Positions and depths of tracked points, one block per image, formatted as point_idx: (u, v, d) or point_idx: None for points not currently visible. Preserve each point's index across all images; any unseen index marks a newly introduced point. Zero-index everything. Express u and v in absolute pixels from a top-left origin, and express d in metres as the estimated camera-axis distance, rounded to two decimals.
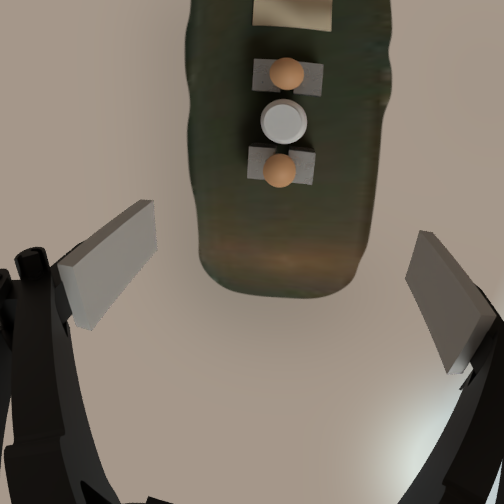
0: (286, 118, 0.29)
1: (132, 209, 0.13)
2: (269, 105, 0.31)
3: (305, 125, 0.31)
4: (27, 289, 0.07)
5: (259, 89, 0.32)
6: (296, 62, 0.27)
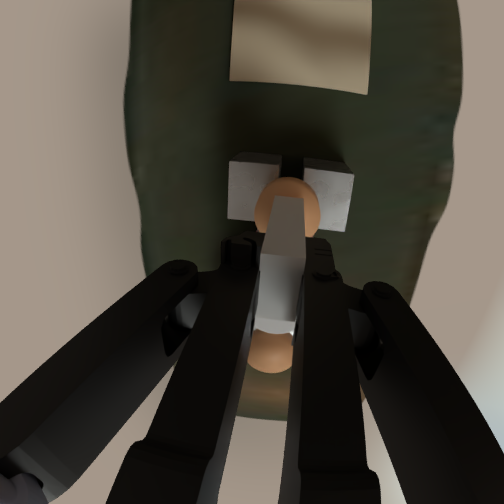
0: None
1: (279, 204, 0.14)
2: None
3: None
4: (226, 277, 0.09)
5: (239, 217, 0.21)
6: (307, 194, 0.16)
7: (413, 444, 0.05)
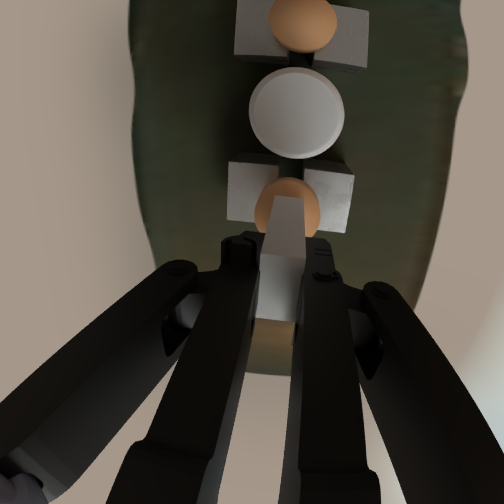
0: (305, 103, 0.12)
1: (279, 204, 0.14)
2: (267, 79, 0.14)
3: (341, 121, 0.15)
4: (226, 277, 0.09)
5: (247, 52, 0.15)
6: (321, 0, 0.11)
7: (413, 444, 0.05)
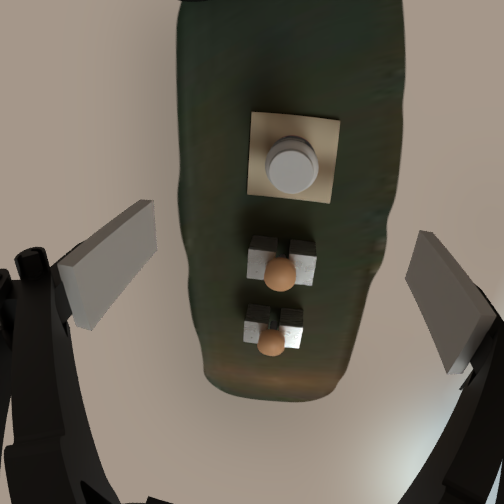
0: (295, 167, 0.26)
1: (132, 209, 0.13)
2: (275, 148, 0.27)
3: (316, 172, 0.28)
4: (27, 289, 0.07)
5: (253, 277, 0.38)
6: (289, 268, 0.34)
7: None
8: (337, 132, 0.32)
